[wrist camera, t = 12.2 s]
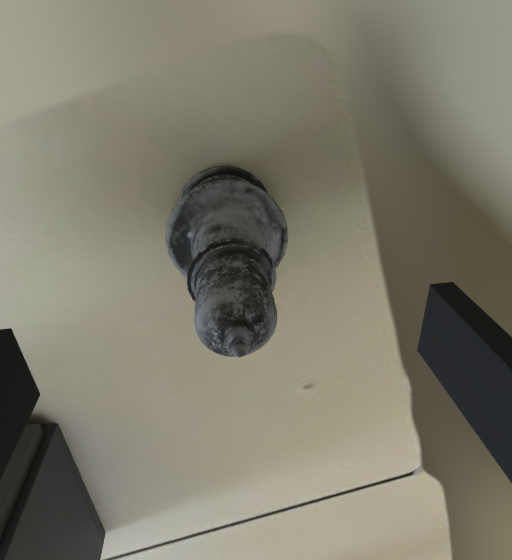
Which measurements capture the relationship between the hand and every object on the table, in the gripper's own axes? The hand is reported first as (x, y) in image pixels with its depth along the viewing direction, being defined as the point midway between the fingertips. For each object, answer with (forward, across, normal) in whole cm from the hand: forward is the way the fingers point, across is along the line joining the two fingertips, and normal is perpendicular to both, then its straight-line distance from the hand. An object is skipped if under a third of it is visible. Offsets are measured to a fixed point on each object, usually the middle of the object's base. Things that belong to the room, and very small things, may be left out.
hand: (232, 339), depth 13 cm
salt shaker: (+11, 0, 0) cm, 11 cm away
